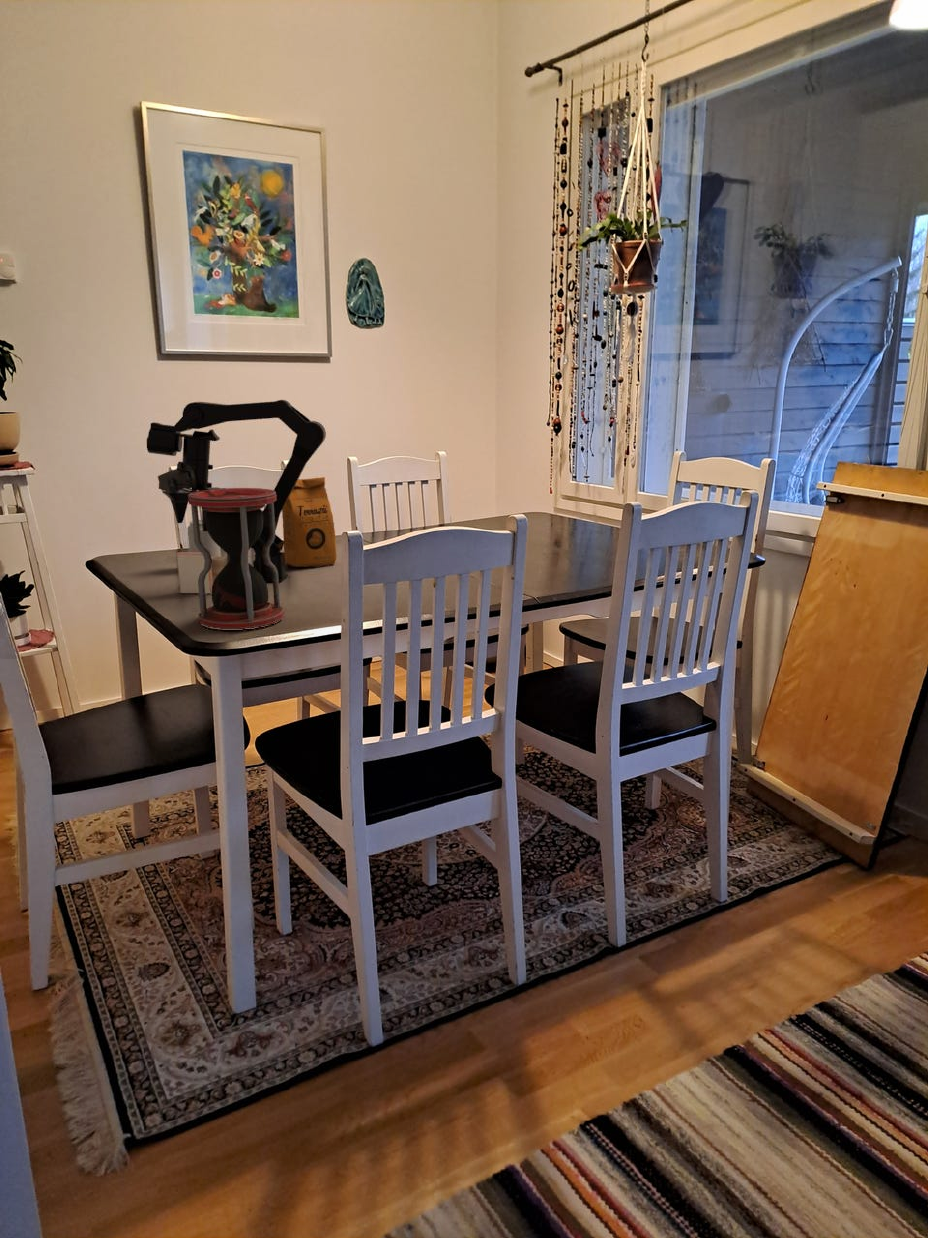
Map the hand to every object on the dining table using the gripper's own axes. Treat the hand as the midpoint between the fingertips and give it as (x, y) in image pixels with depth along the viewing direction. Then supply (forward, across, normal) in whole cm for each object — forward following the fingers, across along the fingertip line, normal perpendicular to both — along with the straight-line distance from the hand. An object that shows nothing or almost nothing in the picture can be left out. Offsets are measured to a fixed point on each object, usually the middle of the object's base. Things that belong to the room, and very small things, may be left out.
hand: (192, 527), depth 197 cm
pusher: (+12, +8, +2) cm, 14 cm away
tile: (+12, +11, -6) cm, 18 cm away
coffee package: (+9, +10, +29) cm, 32 cm away
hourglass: (+11, +36, -15) cm, 41 cm away
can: (+13, -8, +12) cm, 19 cm away
